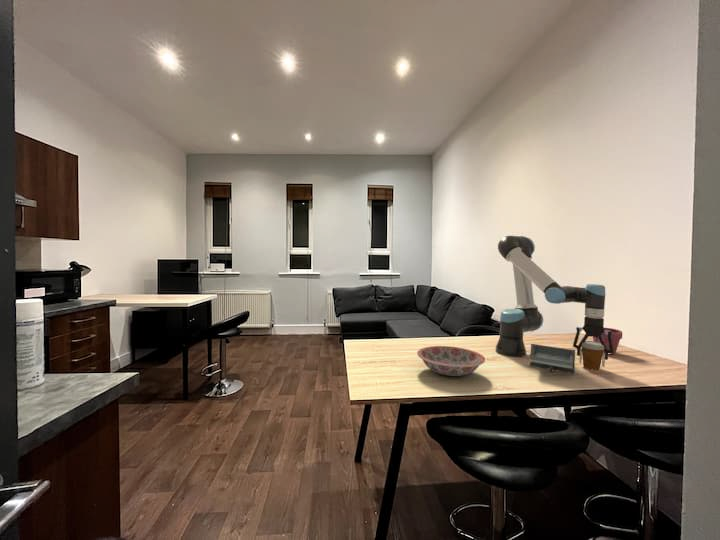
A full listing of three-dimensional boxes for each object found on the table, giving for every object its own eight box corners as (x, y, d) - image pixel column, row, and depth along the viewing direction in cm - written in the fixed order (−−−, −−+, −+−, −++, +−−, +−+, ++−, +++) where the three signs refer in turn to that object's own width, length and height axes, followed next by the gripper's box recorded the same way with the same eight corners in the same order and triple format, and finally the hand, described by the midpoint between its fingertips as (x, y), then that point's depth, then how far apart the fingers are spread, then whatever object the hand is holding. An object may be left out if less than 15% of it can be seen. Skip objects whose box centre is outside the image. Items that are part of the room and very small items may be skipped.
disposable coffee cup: (608, 371, 153) (610, 346, 152) (587, 371, 153) (589, 345, 153) (594, 365, 162) (595, 340, 162) (575, 364, 163) (576, 340, 162)
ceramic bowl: (490, 388, 131) (491, 368, 130) (415, 381, 136) (416, 362, 136) (479, 364, 159) (479, 348, 159) (417, 359, 165) (418, 343, 165)
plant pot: (583, 348, 191) (584, 327, 191) (604, 348, 194) (605, 326, 193) (606, 356, 177) (607, 332, 177) (627, 355, 180) (629, 332, 179)
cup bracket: (526, 374, 148) (527, 352, 147) (530, 362, 164) (531, 342, 164) (574, 383, 138) (575, 359, 137) (574, 369, 155) (575, 348, 154)
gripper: (567, 315, 159) (565, 362, 160) (623, 321, 148) (620, 371, 149) (567, 313, 165) (565, 358, 167) (621, 318, 154) (618, 366, 155)
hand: (591, 364), depth 158 cm, fingers closed on disposable coffee cup, 8 cm apart
